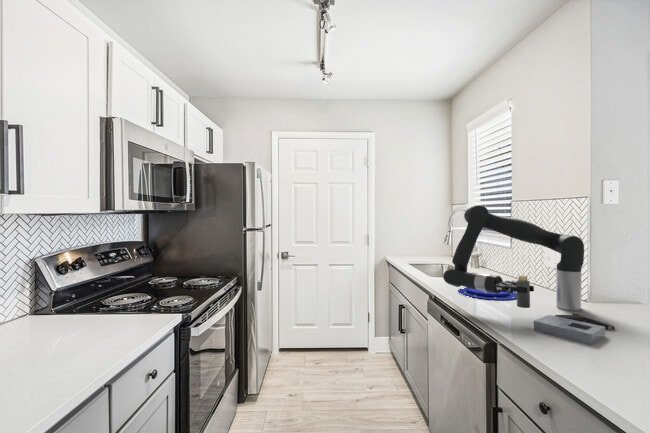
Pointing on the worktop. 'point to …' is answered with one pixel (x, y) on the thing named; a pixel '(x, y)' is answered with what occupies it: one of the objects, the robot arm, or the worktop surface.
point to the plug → (523, 298)
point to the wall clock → (488, 295)
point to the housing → (570, 329)
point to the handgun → (587, 320)
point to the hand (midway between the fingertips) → (530, 289)
